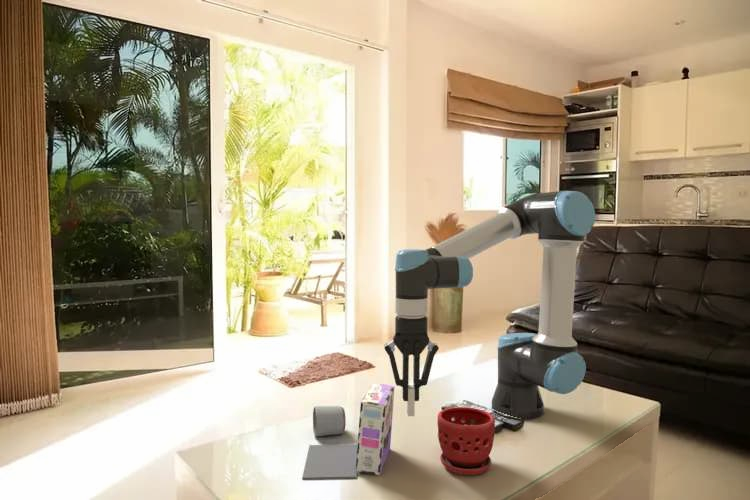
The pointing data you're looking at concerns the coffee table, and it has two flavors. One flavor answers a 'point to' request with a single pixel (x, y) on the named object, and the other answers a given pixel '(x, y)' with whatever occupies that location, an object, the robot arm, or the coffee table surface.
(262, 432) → the coffee table surface
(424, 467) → the coffee table surface
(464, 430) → the plant pot
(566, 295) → the robot arm
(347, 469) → the mat
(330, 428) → the ceramic mug
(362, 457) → the candy box
